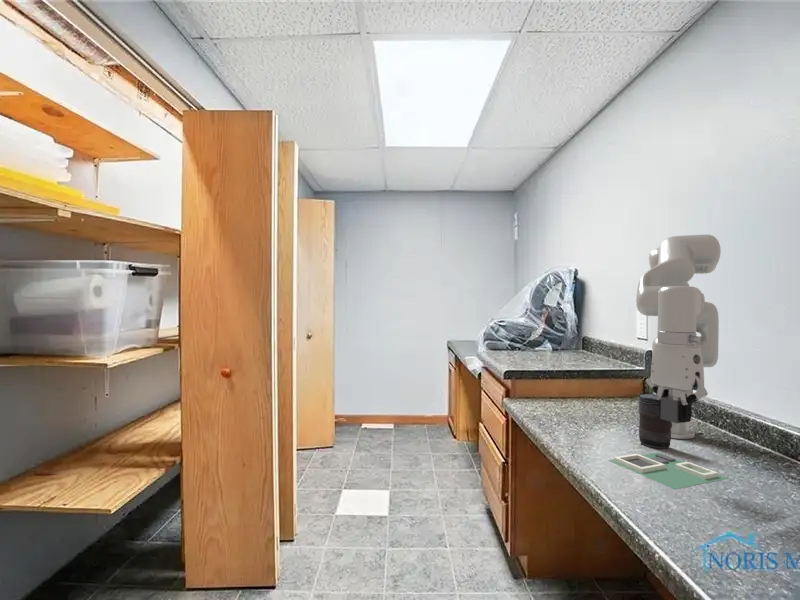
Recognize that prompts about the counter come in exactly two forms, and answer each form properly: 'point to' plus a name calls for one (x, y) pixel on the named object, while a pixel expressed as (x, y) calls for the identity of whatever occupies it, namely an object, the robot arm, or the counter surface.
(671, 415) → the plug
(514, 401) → the counter surface
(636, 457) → the board
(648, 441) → the camera lens
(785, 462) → the counter surface
